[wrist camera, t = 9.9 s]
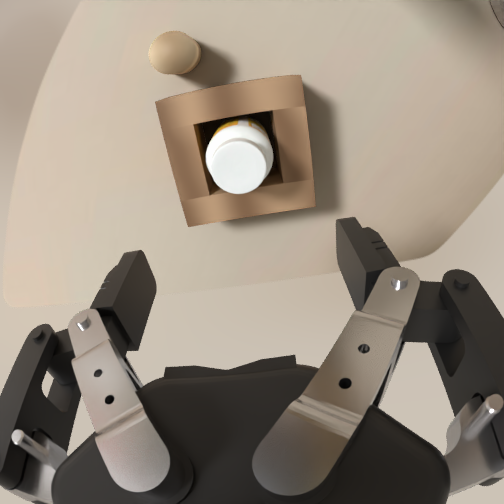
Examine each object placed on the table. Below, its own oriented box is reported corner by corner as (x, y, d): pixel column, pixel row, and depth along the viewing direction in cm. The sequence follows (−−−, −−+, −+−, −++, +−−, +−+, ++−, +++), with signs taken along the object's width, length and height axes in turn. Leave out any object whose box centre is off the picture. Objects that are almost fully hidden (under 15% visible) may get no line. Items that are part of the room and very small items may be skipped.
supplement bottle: (271, 118, 28) (283, 137, 20) (263, 168, 31) (271, 207, 23) (216, 112, 28) (204, 128, 20) (210, 163, 31) (198, 199, 22)
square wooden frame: (291, 75, 26) (301, 75, 22) (305, 187, 32) (315, 206, 28) (168, 97, 27) (155, 101, 22) (195, 205, 33) (188, 227, 29)
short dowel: (197, 31, 23) (190, 25, 20) (204, 68, 25) (199, 67, 22) (157, 42, 23) (145, 38, 20) (164, 78, 26) (153, 79, 22)
